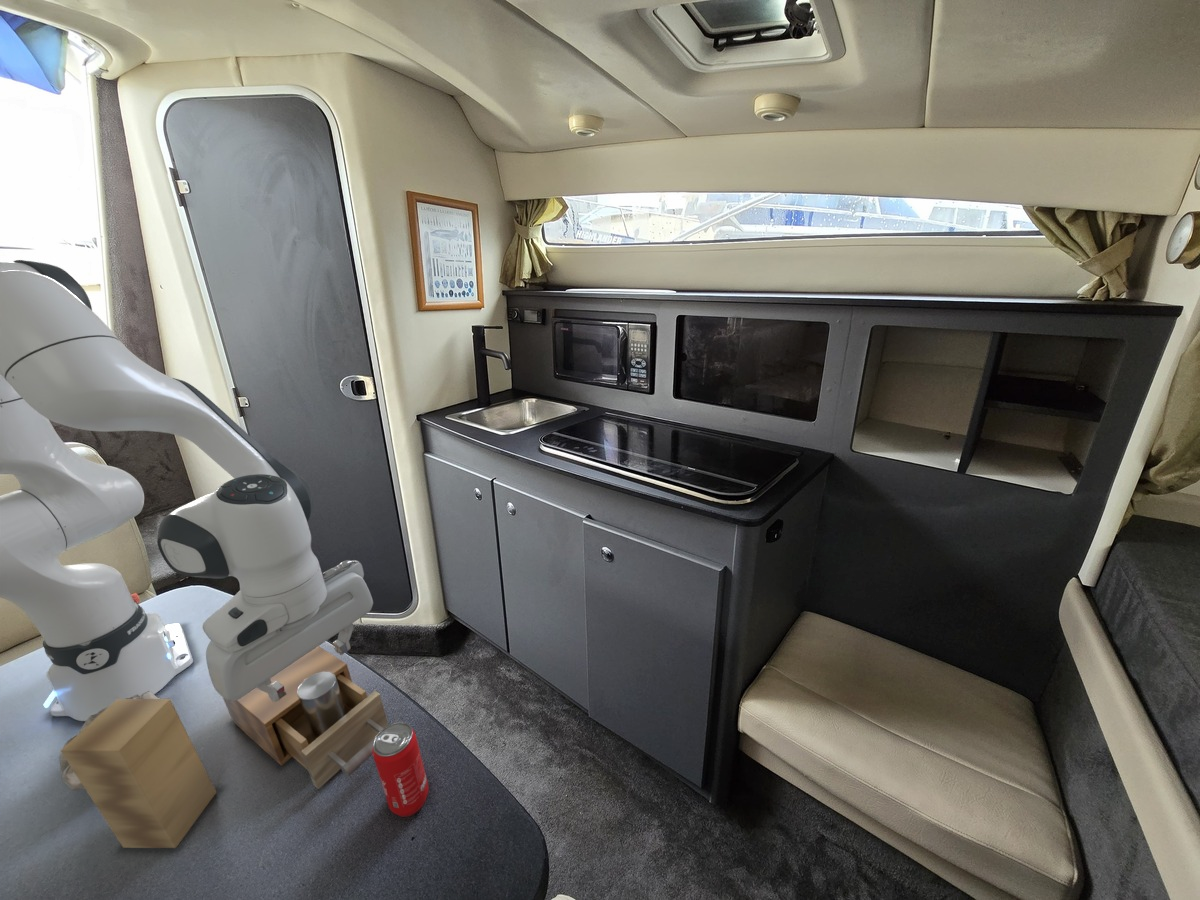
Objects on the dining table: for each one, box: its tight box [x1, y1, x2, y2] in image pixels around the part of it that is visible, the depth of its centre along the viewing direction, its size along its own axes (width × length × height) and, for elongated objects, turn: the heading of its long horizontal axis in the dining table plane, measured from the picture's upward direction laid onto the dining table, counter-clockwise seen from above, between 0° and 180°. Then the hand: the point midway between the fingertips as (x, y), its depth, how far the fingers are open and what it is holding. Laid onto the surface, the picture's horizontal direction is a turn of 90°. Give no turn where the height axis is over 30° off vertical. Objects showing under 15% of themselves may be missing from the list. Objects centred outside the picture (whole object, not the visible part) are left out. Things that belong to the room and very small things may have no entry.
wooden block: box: [60, 698, 217, 849], centre depth 63 cm, size 7×7×18 cm
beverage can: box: [372, 721, 429, 818], centre depth 65 cm, size 5×5×12 cm
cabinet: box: [222, 645, 353, 766], centre depth 79 cm, size 15×13×9 cm
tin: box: [297, 671, 347, 740], centre depth 73 cm, size 5×5×10 cm
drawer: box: [272, 674, 389, 790], centre depth 74 cm, size 18×11×7 cm, turn 59°
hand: (312, 672), depth 70 cm, fingers open, 8 cm apart
